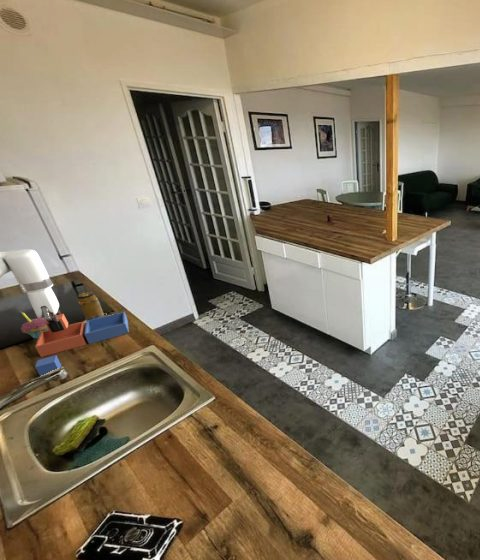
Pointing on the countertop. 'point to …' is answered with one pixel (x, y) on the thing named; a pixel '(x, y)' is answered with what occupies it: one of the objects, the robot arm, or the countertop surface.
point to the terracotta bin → (61, 339)
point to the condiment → (90, 306)
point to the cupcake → (34, 326)
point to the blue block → (47, 365)
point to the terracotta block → (61, 318)
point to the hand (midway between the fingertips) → (59, 327)
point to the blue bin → (106, 327)
